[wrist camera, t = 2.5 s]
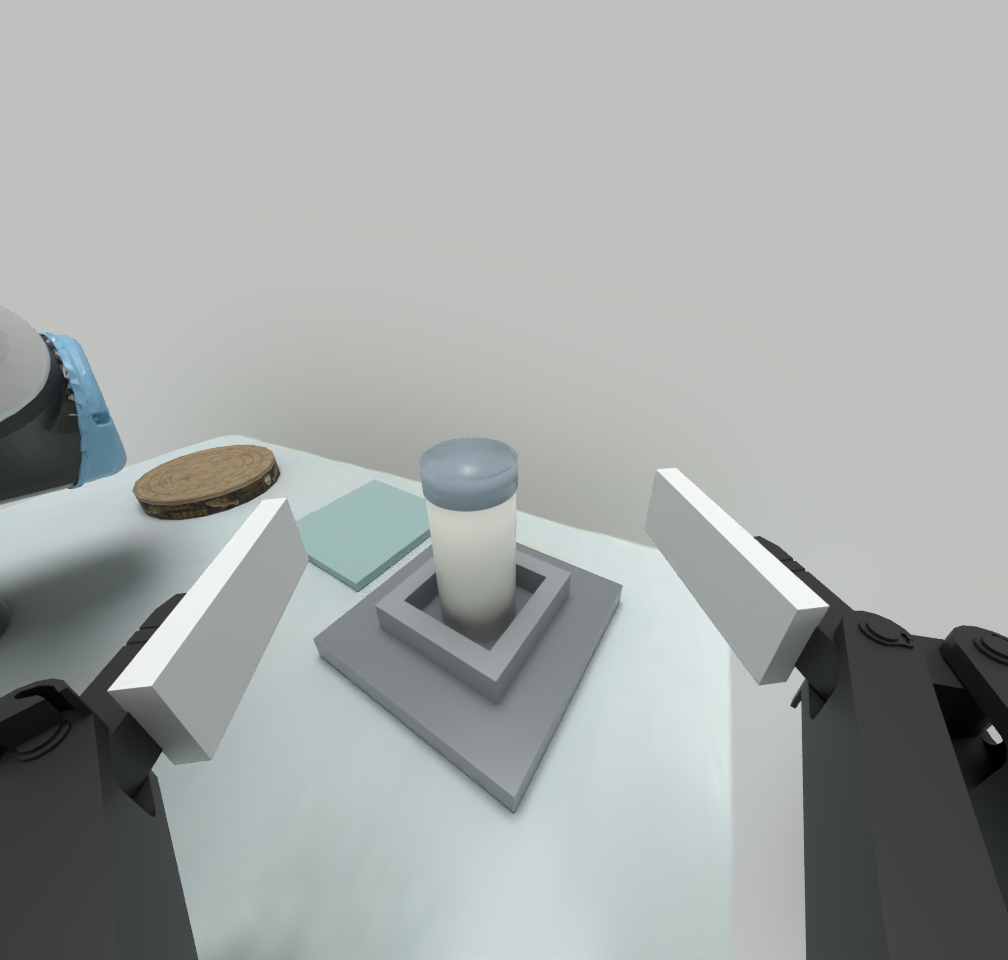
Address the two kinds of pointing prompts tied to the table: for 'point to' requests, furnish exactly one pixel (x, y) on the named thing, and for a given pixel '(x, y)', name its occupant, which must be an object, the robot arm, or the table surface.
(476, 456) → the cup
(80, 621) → the table surface
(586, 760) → the table surface
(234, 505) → the wood slice coaster
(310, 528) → the mat
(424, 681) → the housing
